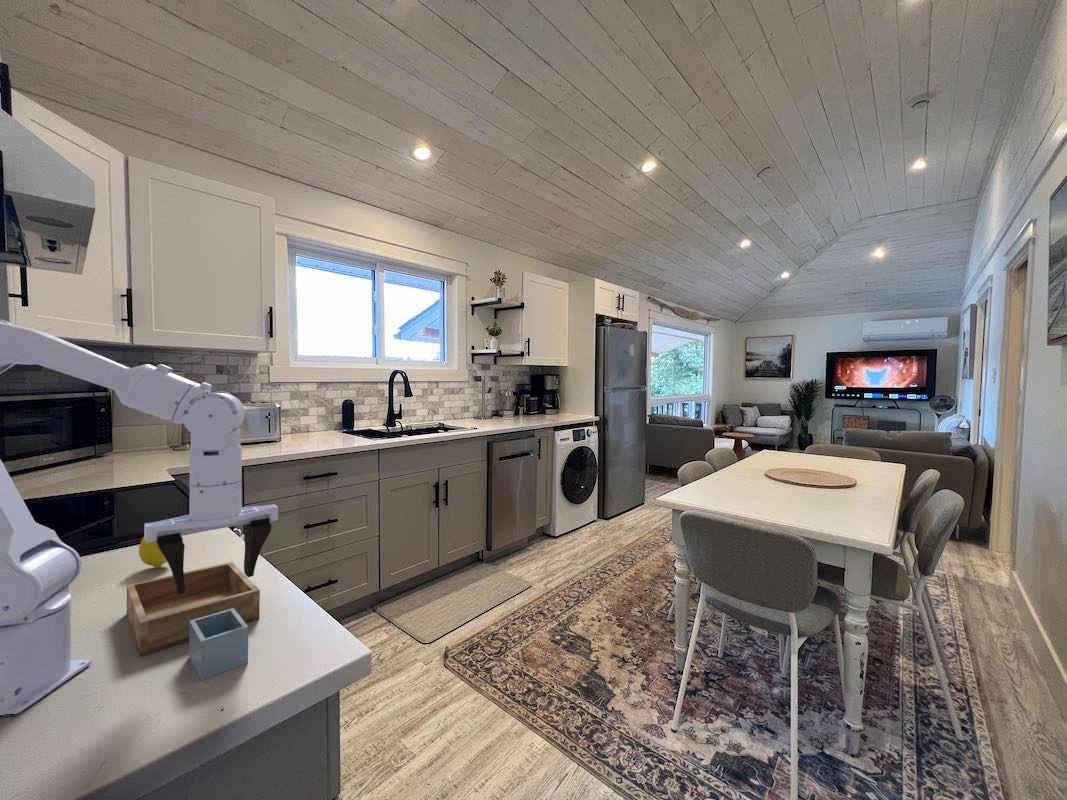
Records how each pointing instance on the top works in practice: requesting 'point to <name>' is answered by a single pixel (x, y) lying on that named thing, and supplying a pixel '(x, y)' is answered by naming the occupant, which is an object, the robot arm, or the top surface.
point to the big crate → (187, 604)
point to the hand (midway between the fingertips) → (216, 582)
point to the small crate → (218, 643)
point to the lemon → (151, 554)
